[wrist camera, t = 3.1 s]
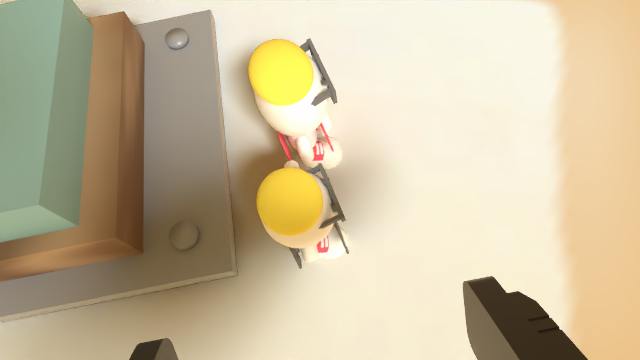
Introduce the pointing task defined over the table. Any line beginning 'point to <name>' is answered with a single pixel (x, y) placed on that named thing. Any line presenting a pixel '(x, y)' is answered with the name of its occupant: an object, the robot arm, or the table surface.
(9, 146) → the stepped display pedestal
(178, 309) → the table surface
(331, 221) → the toy figures
